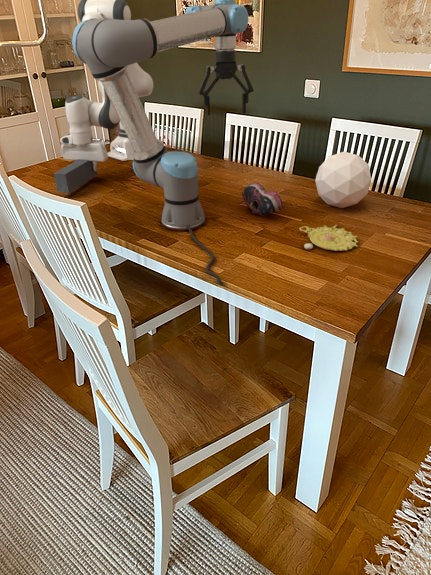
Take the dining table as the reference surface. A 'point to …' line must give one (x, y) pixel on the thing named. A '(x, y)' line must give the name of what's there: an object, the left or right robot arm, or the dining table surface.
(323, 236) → the decorative object
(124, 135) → the left robot arm
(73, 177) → the bar
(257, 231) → the dining table surface
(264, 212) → the athletic shoe
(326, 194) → the sphere
